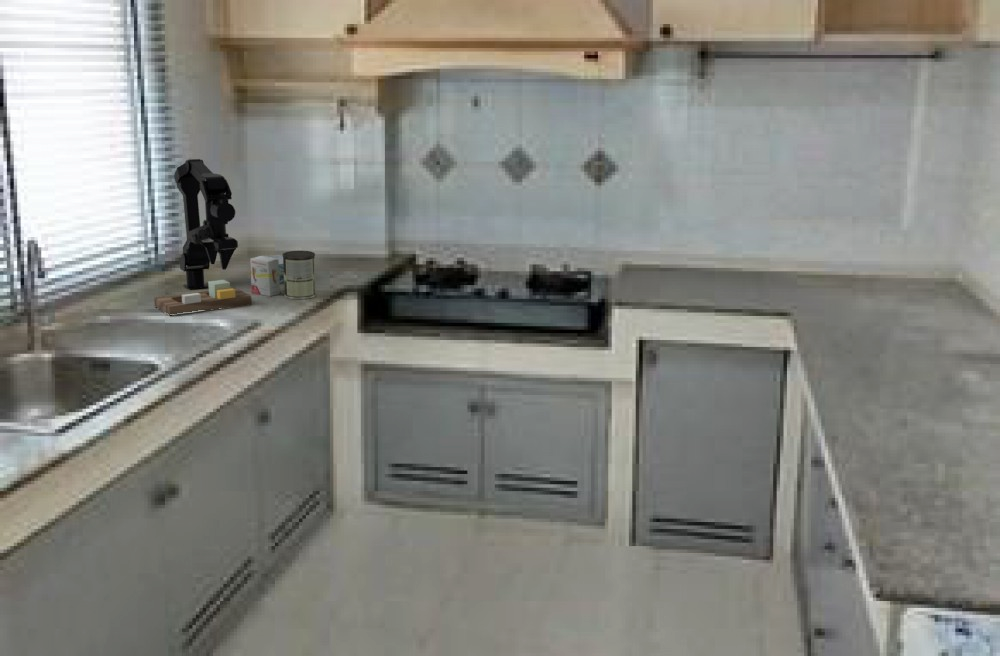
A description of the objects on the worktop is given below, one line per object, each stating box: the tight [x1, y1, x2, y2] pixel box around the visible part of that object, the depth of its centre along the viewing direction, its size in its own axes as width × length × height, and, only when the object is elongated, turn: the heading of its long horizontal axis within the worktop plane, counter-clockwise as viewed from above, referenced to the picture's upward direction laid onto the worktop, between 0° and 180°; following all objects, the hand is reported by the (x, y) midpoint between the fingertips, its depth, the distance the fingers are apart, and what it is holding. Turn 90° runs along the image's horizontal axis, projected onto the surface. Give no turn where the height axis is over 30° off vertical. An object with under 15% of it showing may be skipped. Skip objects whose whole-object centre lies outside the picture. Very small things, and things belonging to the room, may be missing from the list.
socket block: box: [153, 286, 253, 315], centre depth 307 cm, size 13×26×5 cm, turn 128°
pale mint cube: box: [207, 279, 231, 298], centre depth 310 cm, size 5×5×7 cm
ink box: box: [249, 255, 281, 297], centre depth 324 cm, size 9×5×12 cm, turn 57°
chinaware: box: [265, 254, 284, 284], centre depth 341 cm, size 15×15×8 cm
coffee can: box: [282, 250, 317, 300], centre depth 321 cm, size 10×10×14 cm
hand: (218, 266), depth 308 cm, fingers open, 9 cm apart
